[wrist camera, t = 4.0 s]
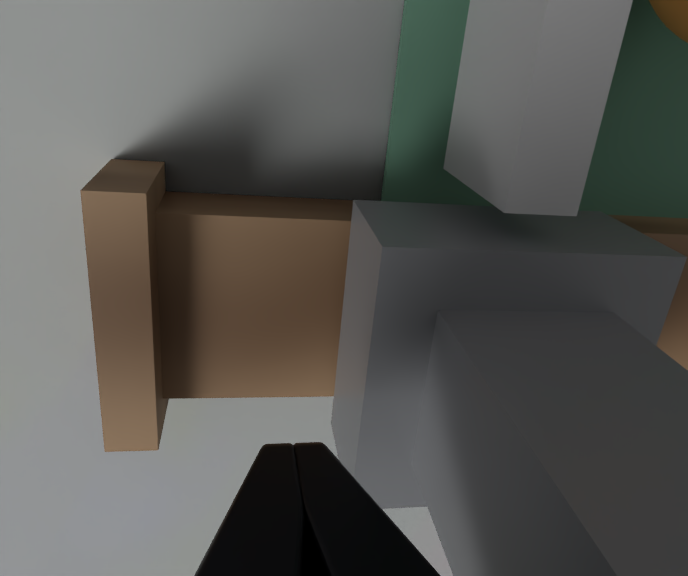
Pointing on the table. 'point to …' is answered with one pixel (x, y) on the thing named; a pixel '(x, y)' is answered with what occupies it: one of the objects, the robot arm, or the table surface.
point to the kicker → (520, 326)
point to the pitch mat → (614, 133)
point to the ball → (673, 15)
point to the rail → (233, 295)
